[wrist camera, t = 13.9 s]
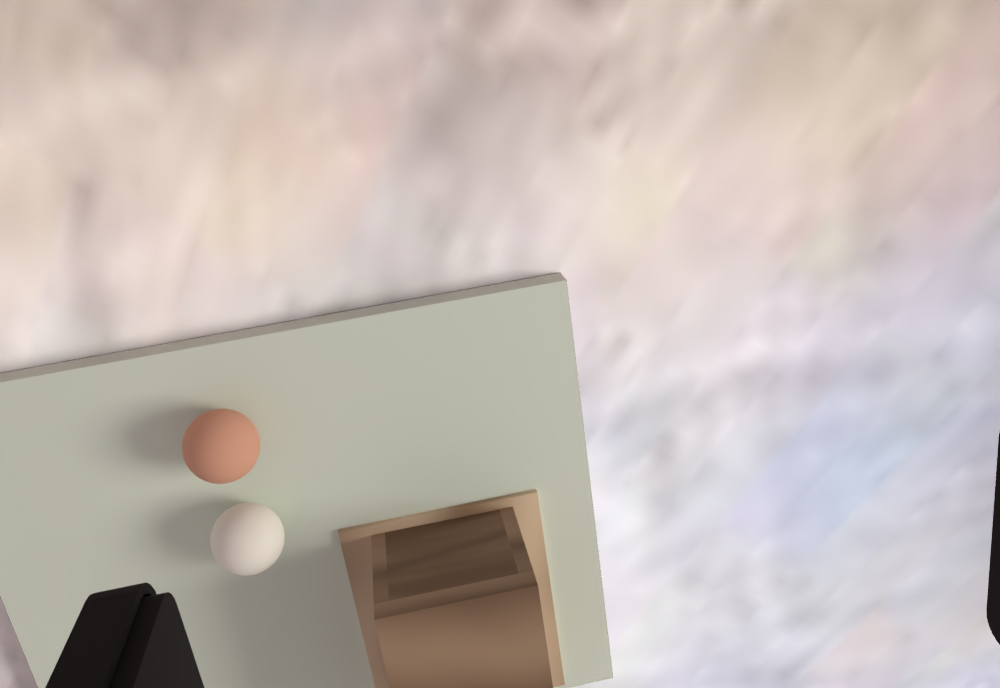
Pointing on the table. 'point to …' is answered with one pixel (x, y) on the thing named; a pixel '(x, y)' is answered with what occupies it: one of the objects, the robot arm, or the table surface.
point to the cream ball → (247, 539)
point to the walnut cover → (459, 605)
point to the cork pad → (360, 536)
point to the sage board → (296, 474)
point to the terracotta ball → (221, 446)
